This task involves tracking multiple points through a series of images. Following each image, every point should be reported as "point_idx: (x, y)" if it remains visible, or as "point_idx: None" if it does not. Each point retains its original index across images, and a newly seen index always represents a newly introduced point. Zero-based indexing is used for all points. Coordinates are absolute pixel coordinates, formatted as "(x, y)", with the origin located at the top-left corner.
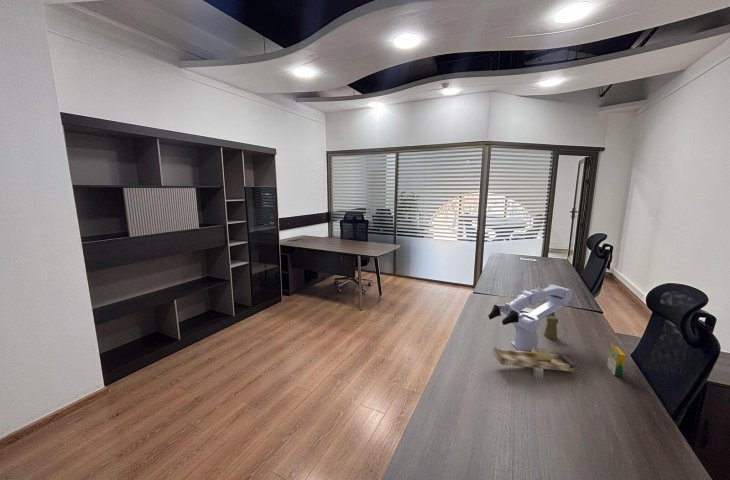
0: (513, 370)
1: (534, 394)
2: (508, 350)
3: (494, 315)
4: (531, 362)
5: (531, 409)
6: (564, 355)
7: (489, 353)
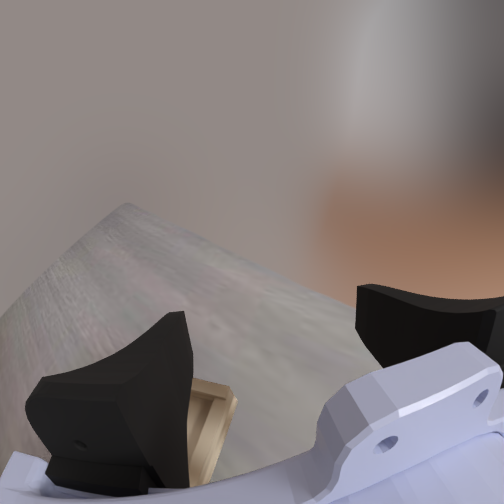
0: None
1: None
2: (195, 459)
3: (394, 356)
4: None
5: (51, 366)
6: None
7: None
